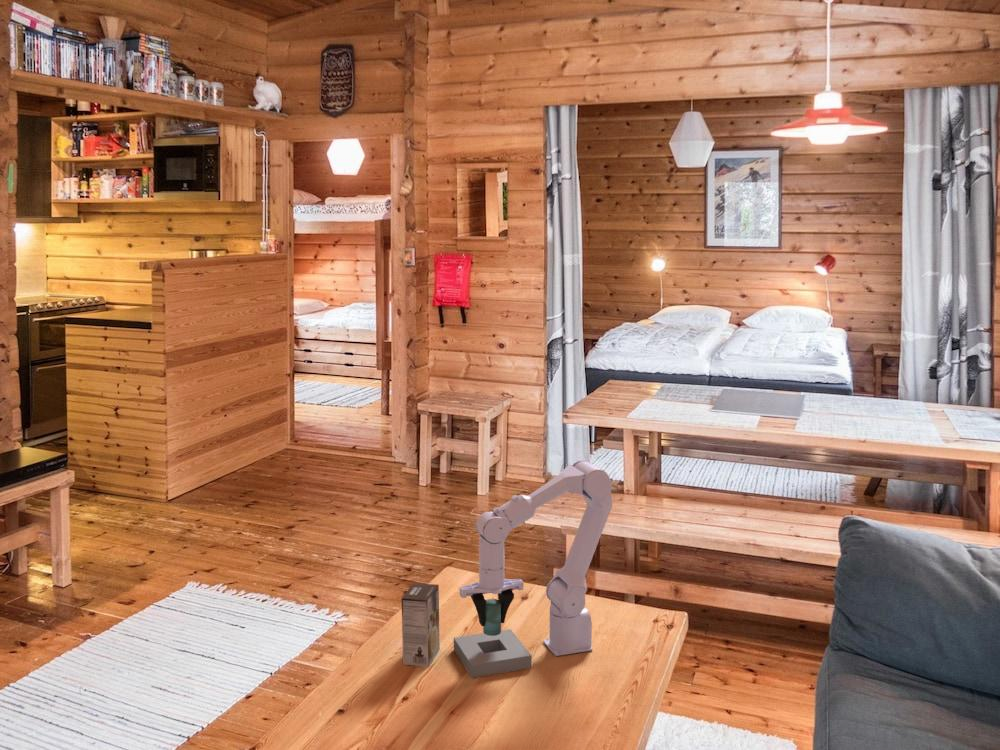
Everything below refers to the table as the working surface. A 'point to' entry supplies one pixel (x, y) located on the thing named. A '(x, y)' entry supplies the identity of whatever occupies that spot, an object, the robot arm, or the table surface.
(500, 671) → the socket
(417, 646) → the coffee box
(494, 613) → the peg
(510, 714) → the table surface
